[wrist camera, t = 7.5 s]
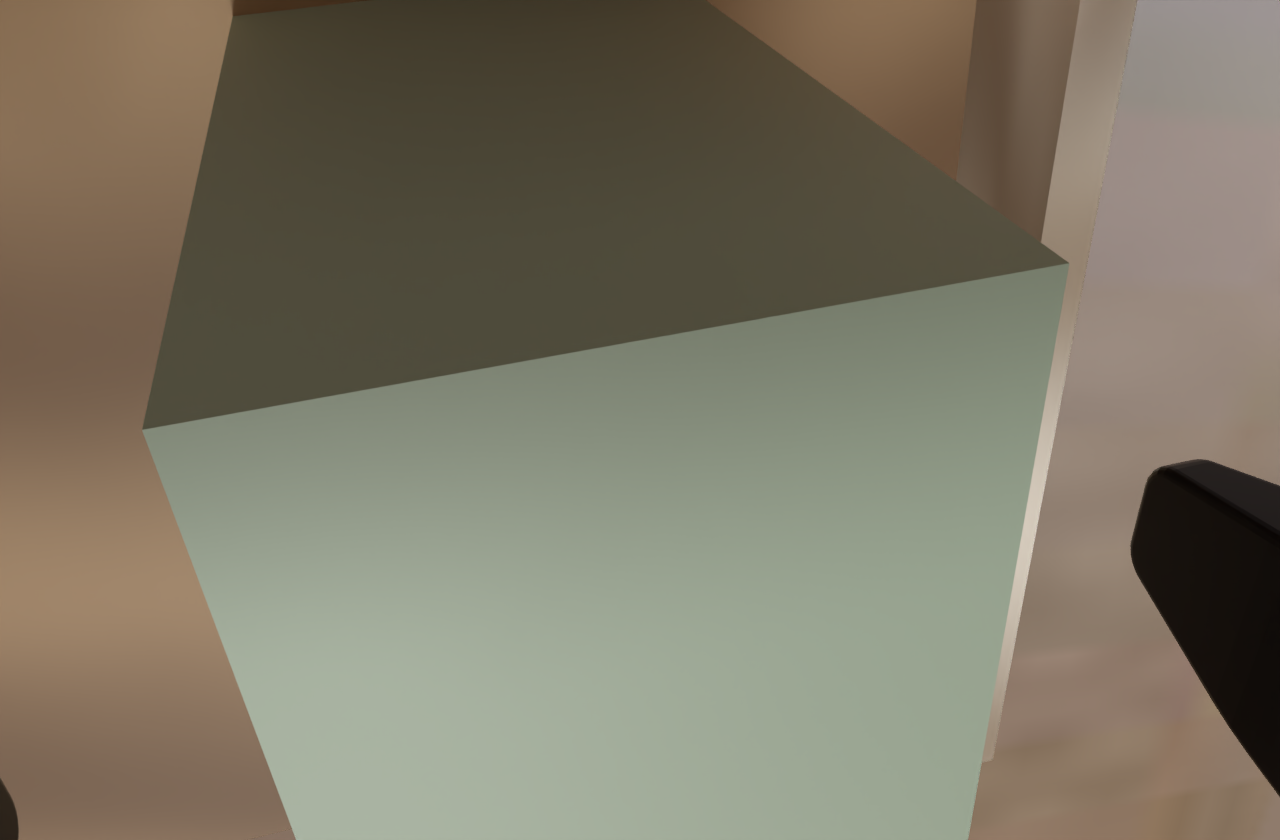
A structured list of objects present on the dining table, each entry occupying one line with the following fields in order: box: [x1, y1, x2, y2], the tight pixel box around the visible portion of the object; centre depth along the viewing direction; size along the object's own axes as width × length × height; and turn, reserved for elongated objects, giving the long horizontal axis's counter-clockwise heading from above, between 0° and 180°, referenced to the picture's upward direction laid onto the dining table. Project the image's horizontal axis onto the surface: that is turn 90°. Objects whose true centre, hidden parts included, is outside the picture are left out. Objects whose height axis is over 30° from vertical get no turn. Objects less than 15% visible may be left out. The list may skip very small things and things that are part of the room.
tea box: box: [142, 0, 1069, 840], centre depth 9 cm, size 7×4×7 cm, turn 4°
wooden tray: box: [0, 0, 1137, 840], centre depth 11 cm, size 17×17×3 cm
